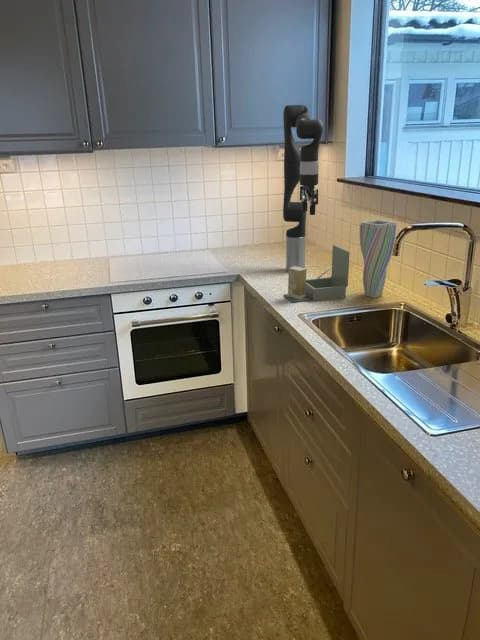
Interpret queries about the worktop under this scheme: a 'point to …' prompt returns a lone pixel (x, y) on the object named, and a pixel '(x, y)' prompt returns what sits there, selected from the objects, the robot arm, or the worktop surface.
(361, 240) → the vase
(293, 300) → the mat
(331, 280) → the case
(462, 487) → the worktop surface
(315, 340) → the worktop surface
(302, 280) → the skincare box
